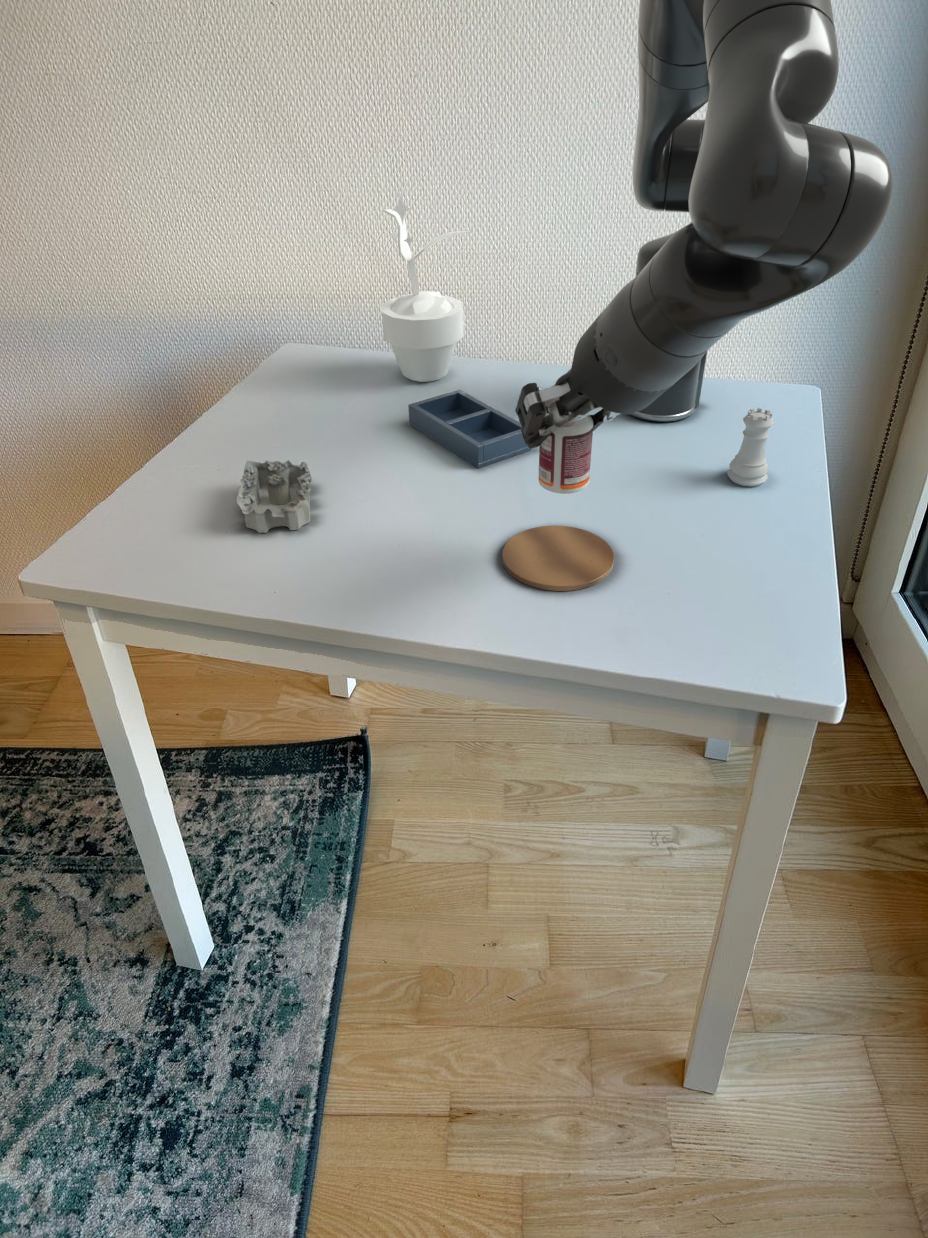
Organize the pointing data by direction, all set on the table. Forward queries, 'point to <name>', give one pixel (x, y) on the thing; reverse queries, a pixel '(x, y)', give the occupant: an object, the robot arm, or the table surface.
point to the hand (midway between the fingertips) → (555, 431)
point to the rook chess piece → (752, 450)
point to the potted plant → (421, 316)
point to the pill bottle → (566, 457)
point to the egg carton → (275, 495)
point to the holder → (468, 428)
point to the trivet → (558, 558)
